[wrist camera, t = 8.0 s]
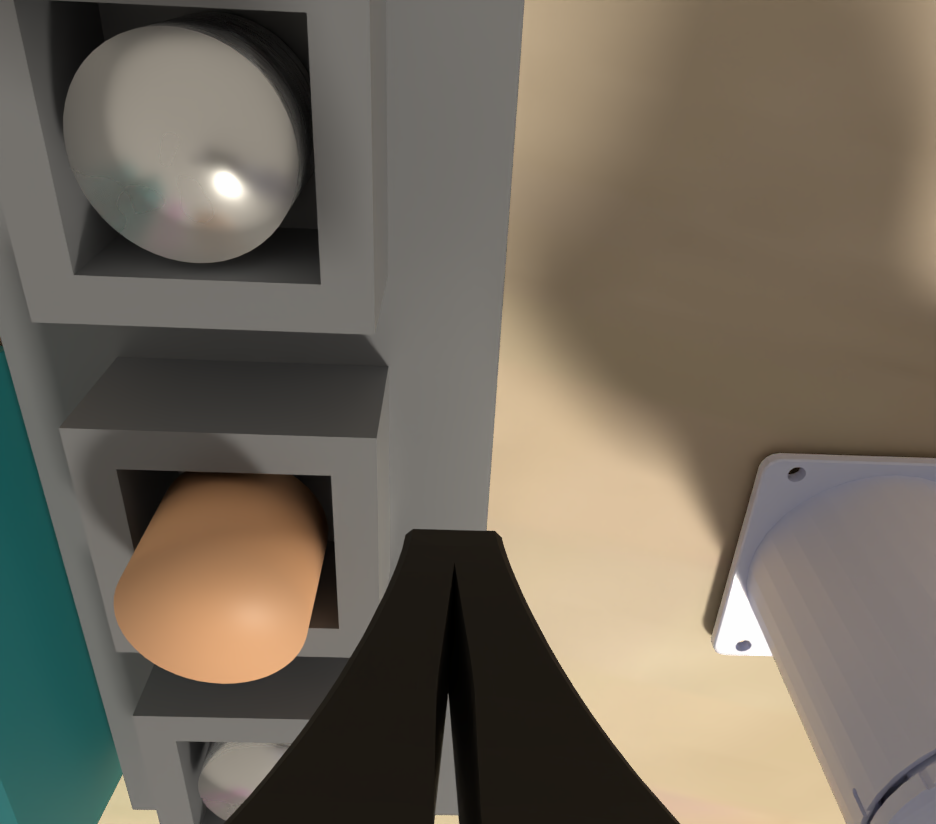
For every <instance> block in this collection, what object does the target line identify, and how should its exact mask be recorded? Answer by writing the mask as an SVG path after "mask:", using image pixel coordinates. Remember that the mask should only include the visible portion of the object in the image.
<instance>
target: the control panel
mask: <svg viewBox="0 0 936 824" xmlns="http://www.w3.org/2000/svg"><path fill="white" fill-rule="evenodd" d="M199 12H220V13H228V14H232V15H236V16H240V17H243V18H245V19H248V20H250V21H253V22H255V23H257V24H259V25H260V26H262V27H264V28H266V29H267V30H269V31H270V32H272V33H273V34H274V35H276V36H277V37H278V38H280V39H281V40H282V41H283V42H284V43H285V44H286V45H287V46H288V47H289V48H290V49H291V50H292V51H293V53H294V54H295V55H296V56H297V57H298V58H299V60H300V61H301V63H302V64H303V66H304V67H305V69H306V70H307V72H308V74H309V76H310V85H311V104H312V123H313V142H314V161H315V169H314V171H313V173H312V175H311V176H310V178H309V180H308V181H307V183H306V184H305V186H304V187H303V189H302V191H301V192H300V194H299V195H298V197H297V199H296V200H295V202H294V203H293V205H292V206H291V208H290V210H289V211H288V213H287V214H286V216H285V218H284V219H283V221H282V222H281V224H280V225H279V227H278V228H277V229H276V230H275V231H274V232H273V234H272V235H271V236H270V237H269V238H268V239H266V240H265V241H264V242H263V243H262V244H261V245H259V246H257V247H256V248H254V249H253V250H251V251H250V252H247V253H245V254H243V255H241V256H239V257H236V258H232V259H229V260H225V261H220V262H213V263H191V262H182V261H177V260H173V259H168V258H165V257H163V256H160V255H157V254H154V253H152V252H150V251H148V250H145V249H143V248H141V247H139V246H138V245H136V244H135V243H133V242H131V241H130V240H128V239H127V238H125V237H124V236H123V235H121V234H120V233H119V232H117V231H116V230H115V229H114V228H113V227H112V226H111V225H109V224H108V223H107V222H106V221H105V220H104V219H103V218H102V217H101V215H100V214H99V213H98V212H97V211H96V210H95V208H94V207H93V206H92V205H91V203H90V202H89V200H88V199H87V197H86V196H85V194H84V193H83V191H82V189H81V187H80V186H79V184H78V182H77V180H76V178H75V176H74V173H73V171H72V168H71V166H70V163H69V159H68V155H67V152H66V148H65V141H64V134H63V114H64V106H65V100H66V97H67V93H68V89H69V86H70V84H71V82H72V80H73V78H74V75H75V73H76V72H77V70H78V69H79V67H80V66H81V64H82V63H83V61H84V60H85V59H86V58H87V57H88V56H89V55H90V54H91V53H92V51H93V50H95V49H96V48H97V47H99V46H100V45H101V44H102V43H104V42H105V41H107V40H109V39H111V38H112V37H114V36H116V35H118V34H120V33H123V32H126V31H129V30H132V29H136V28H139V27H143V26H147V25H150V24H154V23H158V22H162V21H165V20H169V19H173V18H176V17H180V16H184V15H188V14H193V13H199ZM523 14H524V0H0V338H1V341H2V345H3V348H4V352H5V355H6V359H7V363H8V366H9V370H10V373H11V377H12V380H13V384H14V387H15V391H16V395H17V398H18V402H19V405H20V409H21V412H22V416H23V420H24V423H25V427H26V430H27V434H28V437H29V441H30V445H31V448H32V452H33V455H34V459H35V462H36V466H37V470H38V473H39V477H40V480H41V484H42V487H43V491H44V495H45V498H46V502H47V505H48V509H49V512H50V516H51V519H52V523H53V527H54V530H55V534H56V537H57V541H58V544H59V548H60V552H61V555H62V559H63V562H64V566H65V569H66V573H67V577H68V580H69V584H70V587H71V591H72V594H73V598H74V602H75V605H76V609H77V612H78V616H79V619H80V623H81V626H82V630H83V634H84V637H85V641H86V644H87V648H88V651H89V655H90V659H91V662H92V666H93V669H94V673H95V676H96V680H97V684H98V687H99V691H100V694H101V698H102V701H103V705H104V709H105V712H106V716H107V719H108V723H109V726H110V730H111V733H112V737H113V741H114V744H115V748H116V751H117V755H118V758H119V762H120V766H121V769H122V773H123V776H124V780H125V783H126V787H127V791H128V794H129V798H130V801H131V805H132V808H133V809H135V810H157V814H158V818H159V822H160V824H224V823H225V822H226V821H225V820H223V819H222V818H220V817H218V816H217V815H216V814H214V813H213V812H212V811H211V810H210V809H209V808H208V807H207V806H206V805H205V803H204V802H203V800H202V798H201V797H200V794H199V790H198V780H199V777H200V773H201V770H202V767H203V764H204V760H205V757H206V754H207V751H208V748H209V744H210V742H243V743H293V741H294V740H295V739H296V737H297V736H298V735H299V733H300V732H301V731H302V729H303V728H304V727H305V725H306V724H307V722H308V721H309V720H310V718H311V717H312V716H313V714H314V713H315V711H316V710H317V709H318V707H319V706H320V704H321V703H322V701H323V700H324V698H325V697H326V695H327V694H328V692H329V691H330V689H331V688H332V686H333V685H334V683H335V682H336V680H337V678H338V677H339V675H340V674H341V672H342V670H343V669H344V667H345V665H346V664H347V662H348V660H349V658H350V657H351V655H352V653H353V652H354V650H355V648H356V647H357V645H358V643H359V642H360V640H361V638H362V637H363V635H364V633H365V631H366V629H367V627H368V625H369V623H370V621H371V619H372V617H373V615H374V613H375V611H376V609H377V607H378V606H379V604H380V602H381V600H382V598H383V596H384V593H385V591H386V589H387V587H388V584H389V582H390V580H391V578H392V575H393V573H394V570H395V568H396V565H397V562H398V560H399V557H400V554H401V551H402V547H403V544H404V539H405V535H406V534H407V533H408V532H410V531H411V530H412V529H437V530H476V531H486V529H487V515H488V501H489V487H490V474H491V460H492V446H493V432H494V418H495V404H496V390H497V376H498V362H499V348H500V334H501V320H502V306H503V292H504V278H505V264H506V251H507V237H508V223H509V209H510V195H511V181H512V167H513V153H514V139H515V125H516V111H517V97H518V83H519V69H520V55H521V41H522V28H523ZM185 471H192V472H225V473H257V474H290V475H293V476H294V477H296V478H297V479H298V480H300V481H301V482H302V483H303V484H304V485H306V486H307V487H308V488H309V489H310V490H311V492H312V493H313V494H314V495H315V496H316V498H317V499H318V501H319V502H320V504H321V506H322V508H323V510H324V512H325V515H326V518H327V523H328V541H327V546H326V551H325V555H324V560H323V564H322V569H321V573H320V578H319V583H318V587H317V592H316V596H315V601H314V605H313V610H312V615H311V619H310V624H309V628H308V633H307V637H306V640H305V643H304V645H303V647H302V649H301V650H300V652H299V653H298V655H297V656H296V657H295V658H294V659H293V660H292V661H291V662H290V663H289V664H288V665H286V666H285V667H284V668H282V669H280V670H279V671H277V672H275V673H273V674H271V675H269V676H267V677H264V678H260V679H257V680H253V681H248V682H242V683H229V684H221V683H209V682H202V681H197V680H193V679H189V678H185V677H182V676H179V675H176V674H174V673H171V672H169V671H167V670H165V669H163V668H161V667H159V666H157V665H156V664H154V663H152V662H151V661H149V660H148V659H147V658H145V657H144V656H143V655H142V654H140V653H139V652H138V651H137V650H136V649H135V648H134V647H133V646H132V645H131V644H130V643H129V642H128V640H127V639H126V637H125V636H124V635H123V633H122V631H121V629H120V627H119V625H118V623H117V620H116V617H115V612H114V594H115V589H116V586H117V584H118V582H119V580H120V578H121V576H122V574H123V572H124V570H125V568H126V566H127V565H128V563H129V561H130V559H131V557H132V555H133V553H134V551H135V549H136V548H137V546H138V544H139V542H140V540H141V538H142V536H143V534H144V533H145V531H146V529H147V527H148V525H149V523H150V521H151V519H152V518H153V516H154V514H155V512H156V510H157V508H158V506H159V504H160V503H161V501H162V499H163V497H164V495H165V493H166V491H167V490H168V488H169V487H170V485H171V484H172V483H173V482H174V481H175V480H176V478H177V477H179V476H180V475H181V474H182V473H184V472H185ZM435 815H458V803H457V791H456V779H455V767H454V755H453V743H452V731H451V719H450V707H449V695H448V701H447V710H446V719H445V728H444V737H443V747H442V756H441V765H440V774H439V783H438V792H437V801H436V810H435Z"/></svg>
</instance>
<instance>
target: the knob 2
mask: <svg viewBox="0 0 936 824" xmlns="http://www.w3.org/2000/svg"><path fill="white" fill-rule="evenodd" d="M291 744H292V743H243V742H210V744H209V748H208V751H207V754H206V757H205V760H204V764H203V767H202V770H201V773H200V777H199V780H198V790H199V794H200V797H201V798H202V800H203V802H204V803H205V805H206V806H207V807H208V808H209V809H210V810H211V811H212V812H213V813H214V814H216V815H217V816H218V817H220V818H222V819H223V820H225V821H226V820H227V819H228V818H229V817H230V816H231V815H232V814H233V813H234V812H235V811H236V810H237V809H238V807H239V806H240V805H241V804H242V803H243V802H244V801H245V800H246V799H247V798H248V797H249V795H250V794H251V793H252V792H253V791H254V790H255V788H256V787H257V786H258V785H259V784H260V782H261V781H262V780H263V779H264V778H265V777H266V775H267V774H268V773H269V772H270V770H271V769H272V768H273V767H274V765H275V764H276V763H277V762H278V760H279V759H280V758H281V757H282V755H283V754H284V753H285V751H286V750H287V749H288V748H289V746H290V745H291Z"/></svg>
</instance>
